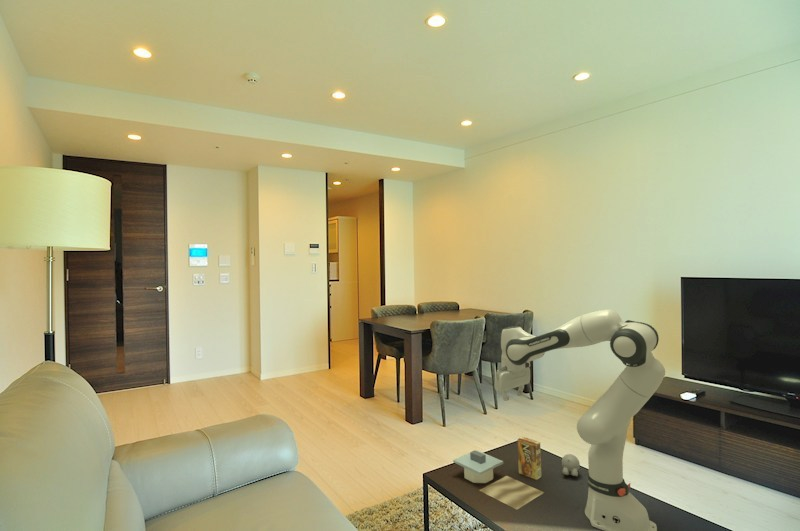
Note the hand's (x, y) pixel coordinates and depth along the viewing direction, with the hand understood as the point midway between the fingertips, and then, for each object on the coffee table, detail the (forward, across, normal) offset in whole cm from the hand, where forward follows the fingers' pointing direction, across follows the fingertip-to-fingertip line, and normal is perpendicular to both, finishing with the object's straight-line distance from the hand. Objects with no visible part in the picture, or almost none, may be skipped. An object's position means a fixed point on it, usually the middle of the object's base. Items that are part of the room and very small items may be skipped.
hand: (513, 397), depth 176 cm
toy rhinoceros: (+35, +24, -12) cm, 44 cm away
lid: (+29, -8, +13) cm, 33 cm away
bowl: (+35, -8, +13) cm, 38 cm away
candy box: (+35, +9, -1) cm, 36 cm away
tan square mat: (+35, -8, -4) cm, 36 cm away
